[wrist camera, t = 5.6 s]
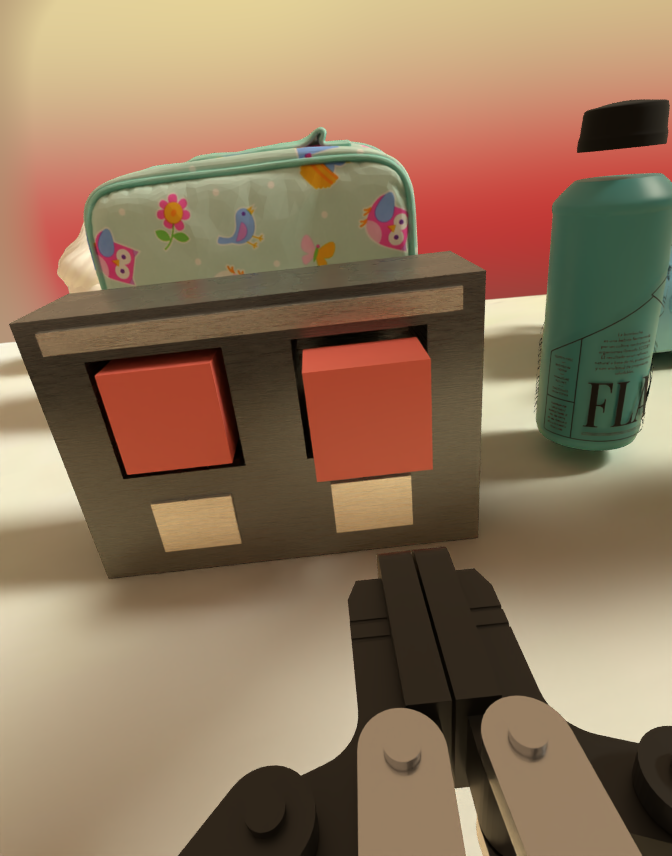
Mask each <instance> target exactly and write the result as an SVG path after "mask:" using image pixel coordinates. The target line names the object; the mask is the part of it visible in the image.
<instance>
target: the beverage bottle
mask: <svg viewBox="0 0 672 856" xmlns="http://www.w3.org/2000/svg"><path fill="white" fill-rule="evenodd" d="M669 106H670V105H669V101H668V100H629V101H622V102H617V103H612V104H609V105H605V106H602V107H599V108H596V109H591V110H589V111H586V112H585V113H584V116H583V122H582V128H581V134H580V138H579V141H578V147H577V153H580V152H593V151H603V150H613V149H622V148H631V147H641V146H649V145H658V144H666V143H667V137H668V117H669ZM552 213H553V219H552V233H551V245H550V259H549V273H548V286H547V298H546V311H545V322H544V323H545V325H544V324H543V325H544V330H543V339H542V338H541V339H542V351H541V349H540V351H541V356H540V357H541V363H540V375H539V376H538V377H539V385H537V384H536V385H537V386H539V387H538V388H537V387H536V388H537V390H538V391H537V390H536V391H537V392H538V396H537V397H538V399H537V401H536V402H537V408H536V409H537V411H536V422H537V426H538V429H539V431H540V433H541V434H542V435H543V436H544V437H546V438H547V439H549V440H551V441H553V442H555V443H557V444H560V445H563V446H567V447H570V448H575V449H581V450H592V451H604V450H612V449H617V448H621V447H624V446H626V445H628V444H630V443H631V442H632V441H633V440H634V439H635V437H636V435H637V433H638V431H639V428H640V425H641V424H640V423H641V419H642V417H643V416H645V405H646V401H647V397H648V395H649V389H650V384H651V380H650V384H649V388H648V391H647V386H648V378H649V372H650V367H652V366H653V364H652V363H651V361H652V356H653V350H654V349H656V348H655V347H654V344H656V343H657V342H656V341H655V339H656V333H657V328H658V322H659V317H660V316H661V315H662V314H663V313H662V314H661V315H660V311H661V305H663V304H662V300H663V299H664V298H665V296H664V297H663V294H664V289H665V283H666V278H667V279H668V281H669V280H670V278H669V277H670V276H668V275H667V273H668V274H669V273H670V271H671V269H672V266H670V265H669V261H670V253H671V246H672V182H671V181H670V180H669V179H668V178H666V176H665V175H663V174H661V173H651V174H650V173H649V174H628V175H615V176H604V177H594V178H587V179H581V180H577V181H575V182H573V184H571V185H570V186H569V187H568V188H567V189H566V190H565V191H564V192H563V193H562V194H561V195H560V196H559V197H558V198H557V199H556V200H555V202H554V203H553V205H552ZM668 266H669V268H671V269H670V270H669V268H668ZM667 291H668V289H667ZM666 296H667V295H666ZM665 300H666V298H665ZM663 302H664V303H665V302H666V301H664V300H663ZM663 307H664V305H663ZM663 312H664V311H663ZM542 327H543V326H542ZM541 330H542V329H541ZM540 334H541V333H540ZM655 342H656V343H655ZM539 345H540V343H539ZM657 346H658V345H656V347H657ZM655 353H656V351H655ZM539 355H540V354H539ZM539 355H538V357H539ZM538 363H539V361H538ZM653 368H654V367H653ZM537 369H539V367H538V368H537ZM652 373H653V371H652ZM537 379H538V378H537ZM650 379H652V377H651V372H650ZM536 382H537V380H536ZM537 383H538V382H537ZM537 392H536V393H535V394H537ZM537 397H536V398H537ZM535 405H536V403H535ZM535 405H534V407H535ZM536 409H535V410H536ZM534 412H535V411H534ZM642 421H643V419H642ZM643 422H644V421H643ZM643 422H642V423H643ZM639 432H640V431H639Z"/></svg>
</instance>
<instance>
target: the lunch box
mask: <svg viewBox="0 0 672 856" xmlns="http://www.w3.org/2000/svg"><path fill="white" fill-rule="evenodd" d="M325 137H326V130H325V129H324V128H323V127H319V128H317V129H315V130H314V131H313V132H312V133H311V134H309V135H308V136H307V137H305V138H303V139H301V140H298V141H294V142H287V143H279V144H274V145H270V146H264V147H257V148H252V149H248V150H245V151H241V152H230V153H211V154H206V155H200V156H196V157H194V158H192V159H191V160H189V161H187V162H185V163H176V164H165V165H158V166H153V167H150V168H147V169H144V170H141V171H137V172H133V173H130V174H126V175H123V176H120V177H117V178H115V179H112V180H109V181H107V182H106V183H103V184H102V185H100V186H98V187H97V188H96V189H95V190H94V191H93V192H92V193H91V194H90V196H89V197H88V199H87V201H86V204H85V208H84V226H85V232H86V237H87V243H88V246H89V250H90V253H91V257H92V261H93V264H94V268H95V271H96V274H97V277H98V280H99V283H100V286H101V290H106V289H115V288H124V287H133V286H142V285H151V284H160V283H169V282H178V281H187V280H196V279H204V278H213V277H222V276H231V275H240V274H249V273H258V272H267V271H276V270H285V269H294V268H303V267H312V266H321V265H330V264H339V263H348V262H357V261H365V260H374V259H383V258H392V257H401V256H410V255H418V249H417V248H418V247H417V228H416V209H415V198H414V192H413V187H412V184H411V181H410V178H409V176H408V173H407V172H406V170H405V168H404V167H403V166H402V165H401V164H400V162H399V161H397V160H396V159H395V158H393V157H391V156H389V155H387V154H385V153H384V152H382V151H381V150H379V149H378V148H376V147H373V146H371V145H368V144H364V143H358V142H350V141H349V140H339V141H338V140H337V141H329V142H325Z"/></svg>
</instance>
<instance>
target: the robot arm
mask: <svg viewBox="0 0 672 856" xmlns="http://www.w3.org/2000/svg"><path fill="white" fill-rule="evenodd" d="M377 568H378V579H371V580H361V581H356V582H355V585H354V587H353V589H352V592H351V594H350V596H349V599H348V606H349V617H350V628H351V638H352V649H353V660H354V670H355V681H356V692H357V703H358V724H357V728H356V731H355V734H354V736H353V738H352V740H351V742H350V743H349V745H348V746H347V747H346V749H345V750H344V751H343V752H342V753H341V754H340V755H338V756H337V757H336V758H335V759H333V760H332V761H330V762H328V763H326V764H325V765H323V766H320V767H318V768H316V769H314V770H312V771H310V772H308V773H306V774H304V775H302V776H301V775H299V774H298V773H297V772H295V771H294V770H292V769H290V768H287V767H284V766H266V767H261V768H258V769H256V770H254V771H252V772H250V773H248V774H247V775H245V776H244V777H243V778H241V779H240V780H239V781H238V782H237V783H236V784H235V785H234V786H233V787H232V789H231V790H230V791H229V792H228V794H227V795H226V796H225V797H224V799H223V800H222V801H221V802H220V804H219V805H218V806H217V807H216V809H215V810H214V811H213V813H212V814H211V815H210V816H209V818H208V819H207V820H206V821H205V823H204V824H203V825H202V826H201V828H200V829H199V830H198V831H197V833H196V834H195V835H194V836H193V838H192V839H191V840H190V841H189V843H188V844H187V845H186V846H185V848H184V849H183V850H182V851H181V853H180V854H179V855H178V856H466V854H465V848H464V842H463V836H462V830H461V824H460V818H459V812H458V806H457V800H456V795H455V789H454V788H462V787H470V790H471V794H472V797H473V801H474V805H475V809H476V813H477V821H476V831H477V838H478V842H479V845H480V848H481V851H482V854H483V856H672V726H662V727H657V728H654V729H652V730H650V731H649V732H647V733H646V734H645V735H644V736H643V737H642V738H641V741H640V743H635V742H630V741H625V740H621V739H616V738H611V737H606V736H602V735H597V734H593V733H590V732H587V731H584V730H582V729H579V728H578V727H576V726H574V725H572V724H570V723H569V722H567V721H566V720H565V719H564V718H563V717H562V716H561V715H560V714H559V713H558V712H557V711H555V710H554V709H553V708H552V707H550V706H549V705H548V704H547V702H546V701H545V700H544V698H543V696H542V694H541V693H540V691H539V688H538V686H537V684H536V682H535V680H534V677H533V675H532V673H531V671H530V669H529V666H528V664H527V662H526V660H525V657H524V655H523V653H522V651H521V649H520V646H519V644H518V642H517V640H516V638H515V635H514V633H513V631H512V629H511V627H509V623H508V620H507V618H506V615H505V613H504V611H503V609H501V604H500V602H499V600H498V598H497V596H496V593H495V591H494V589H493V587H492V585H491V584H490V583H489V582H488V581H487V580H486V579H485V578H484V577H483V576H482V575H481V574H479V573H478V572H477V571H476V570H475V569H465V570H455V568H454V565H453V563H452V560H451V557H450V555H449V552H448V550H447V548H446V547H438V548H428V549H419V550H412V553H411V552H410V551H401V552H392V553H382V554H377Z"/></svg>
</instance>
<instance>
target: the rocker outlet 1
mask: <svg viewBox="0 0 672 856" xmlns="http://www.w3.org/2000/svg"><path fill="white" fill-rule="evenodd" d="M95 379H96V382H97V385H98V388H99V391H100V394H101V397H102V400H103V403H104V406H105V409H106V412H107V415H108V418H109V421H110V424H111V427H112V430H113V433H114V436H115V439H116V442H117V445H118V448H119V451H120V454H121V458H122V461H123V464H124V467H125V470H126V473H127V475H131V474H139V473H148V472H157V471H166V470H175V469H184V468H193V467H202V466H211V465H220V464H229V463H232V462H233V458H234V454H235V451H236V447H237V443H238V439H239V431H238V426H237V421H236V416H235V411H234V407H233V402H232V397H231V392H230V387H229V383H228V378H227V373H226V368H225V363H224V358H223V354H222V349H221V347H219V348H210V349H201V350H192V351H183V352H175V353H166V354H157V355H148V356H139V357H130V358H121V359H112V360H111V361H110V362H109V363H108V364H107V365H106V366H105V367H104V368H103V369H102V370H101V371H99V372H98V373H97V374H96V375H95Z"/></svg>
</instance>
